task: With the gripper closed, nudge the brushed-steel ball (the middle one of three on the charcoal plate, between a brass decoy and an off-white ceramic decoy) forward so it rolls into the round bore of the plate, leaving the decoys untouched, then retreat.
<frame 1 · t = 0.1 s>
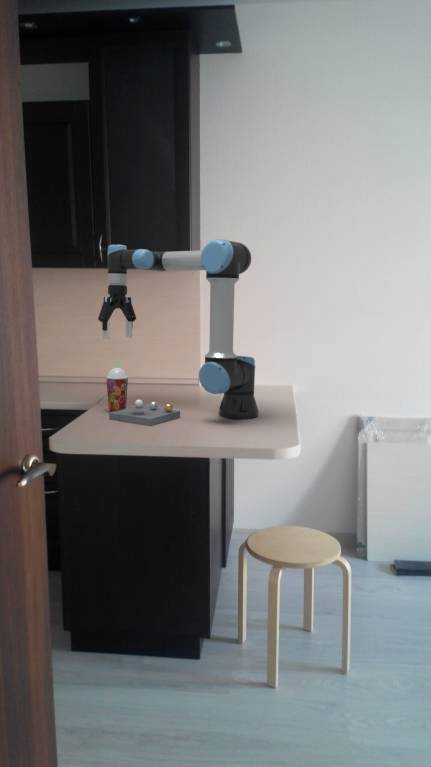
hand: (117, 338, 237), 28 cm above the table, fingers open, 13 cm apart
steel ball: (153, 405, 222), point 4 cm above the table, touching bearing plate
smoothie: (117, 412, 230), on the table
brass decoy: (168, 407, 218), point 4 cm above the table, touching bearing plate
bearing plate: (145, 418, 218), on the table
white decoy: (139, 403, 225), point 4 cm above the table, touching bearing plate
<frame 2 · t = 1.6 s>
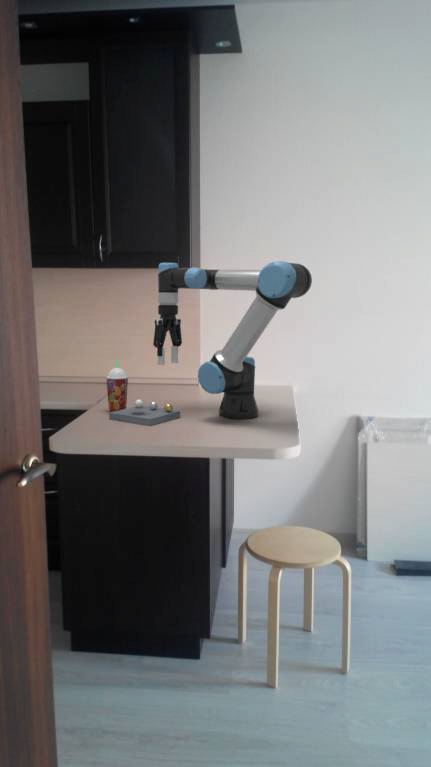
hand: (167, 363, 227), 19 cm above the table, fingers open, 8 cm apart
nothing on the table moved.
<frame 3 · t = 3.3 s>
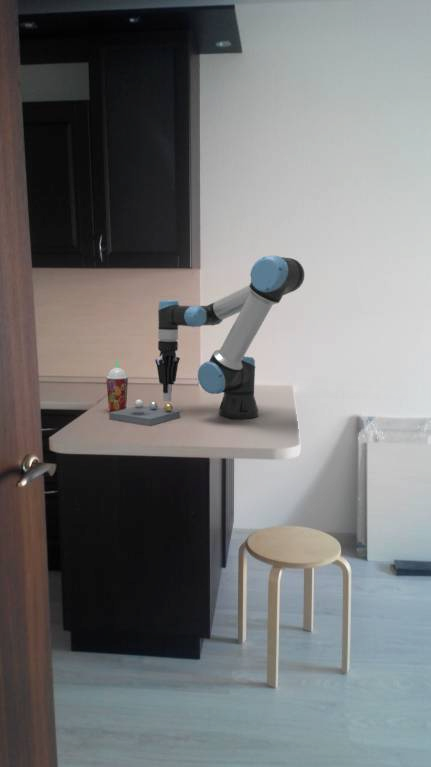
hand: (167, 400, 229), 5 cm above the table, fingers closed
nothing on the table moved.
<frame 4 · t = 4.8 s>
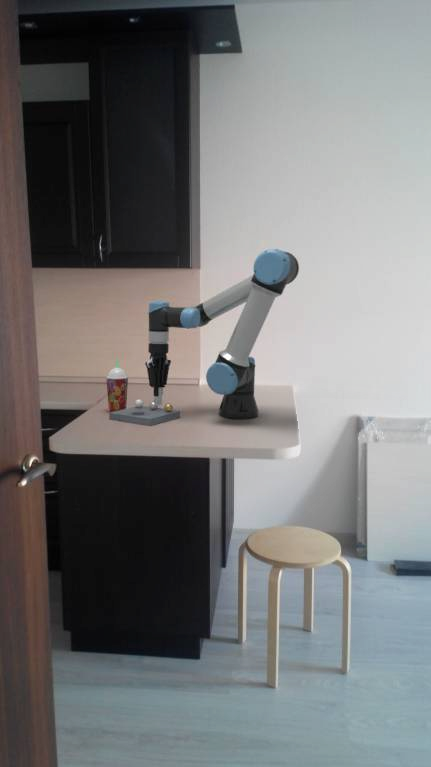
hand: (158, 404, 224), 4 cm above the table, fingers closed
nothing on the table moved.
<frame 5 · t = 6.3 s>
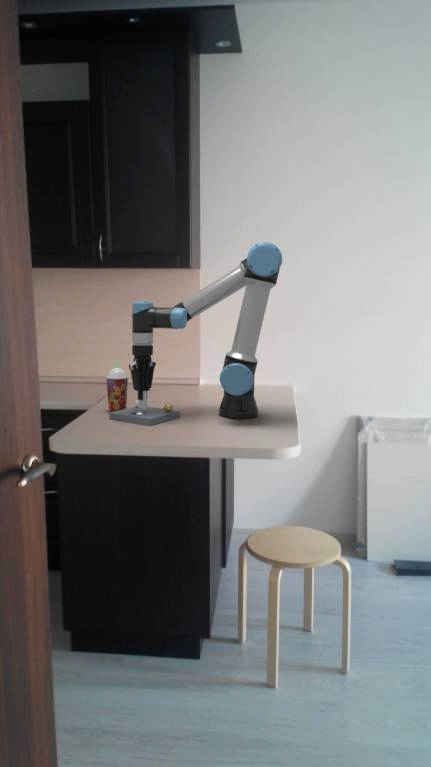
hand: (142, 408, 216), 4 cm above the table, fingers closed
steel ball: (139, 415, 215), point 2 cm above the table, tilted 56°
everything else where it was.
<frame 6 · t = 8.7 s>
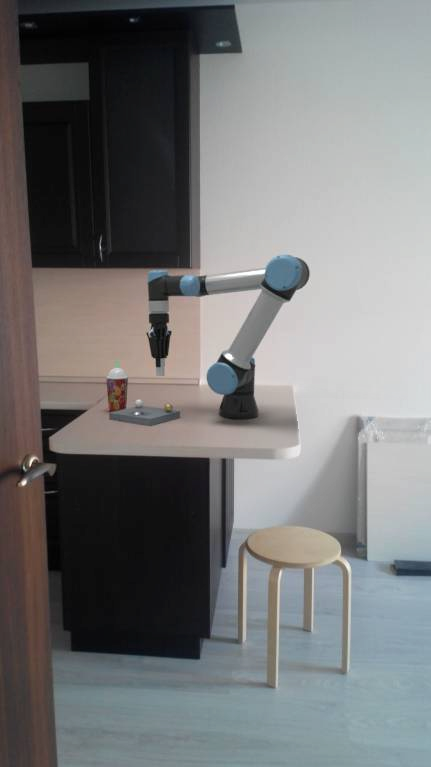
hand: (160, 375, 222), 15 cm above the table, fingers closed
steel ball: (136, 416, 214), point 2 cm above the table, tilted 24°
everything else where it was.
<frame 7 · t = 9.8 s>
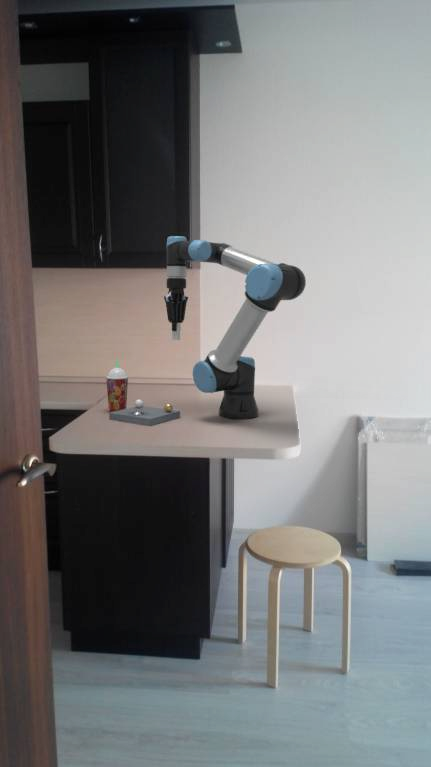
hand: (176, 339, 228), 28 cm above the table, fingers closed
nothing on the table moved.
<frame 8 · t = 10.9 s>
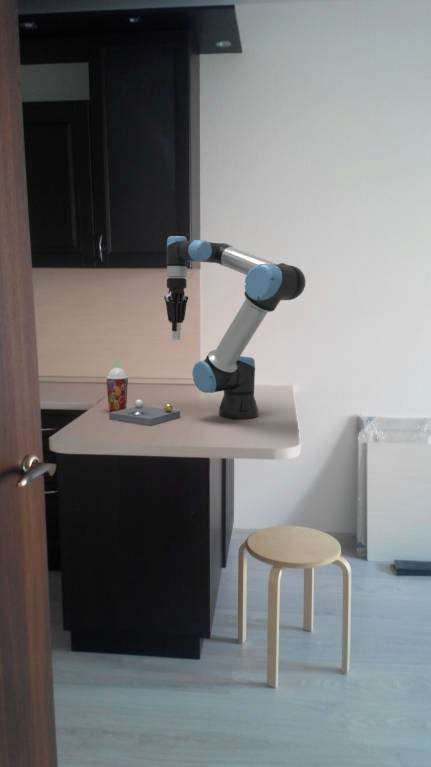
hand: (176, 339, 228), 28 cm above the table, fingers closed
nothing on the table moved.
at the end: steel ball 0.3 cm from the target spot in the bearing plate, point 1.6 cm above the bearing plate's base; brass decoy moved 0.0 cm from its start; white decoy moved 0.0 cm from its start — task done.
